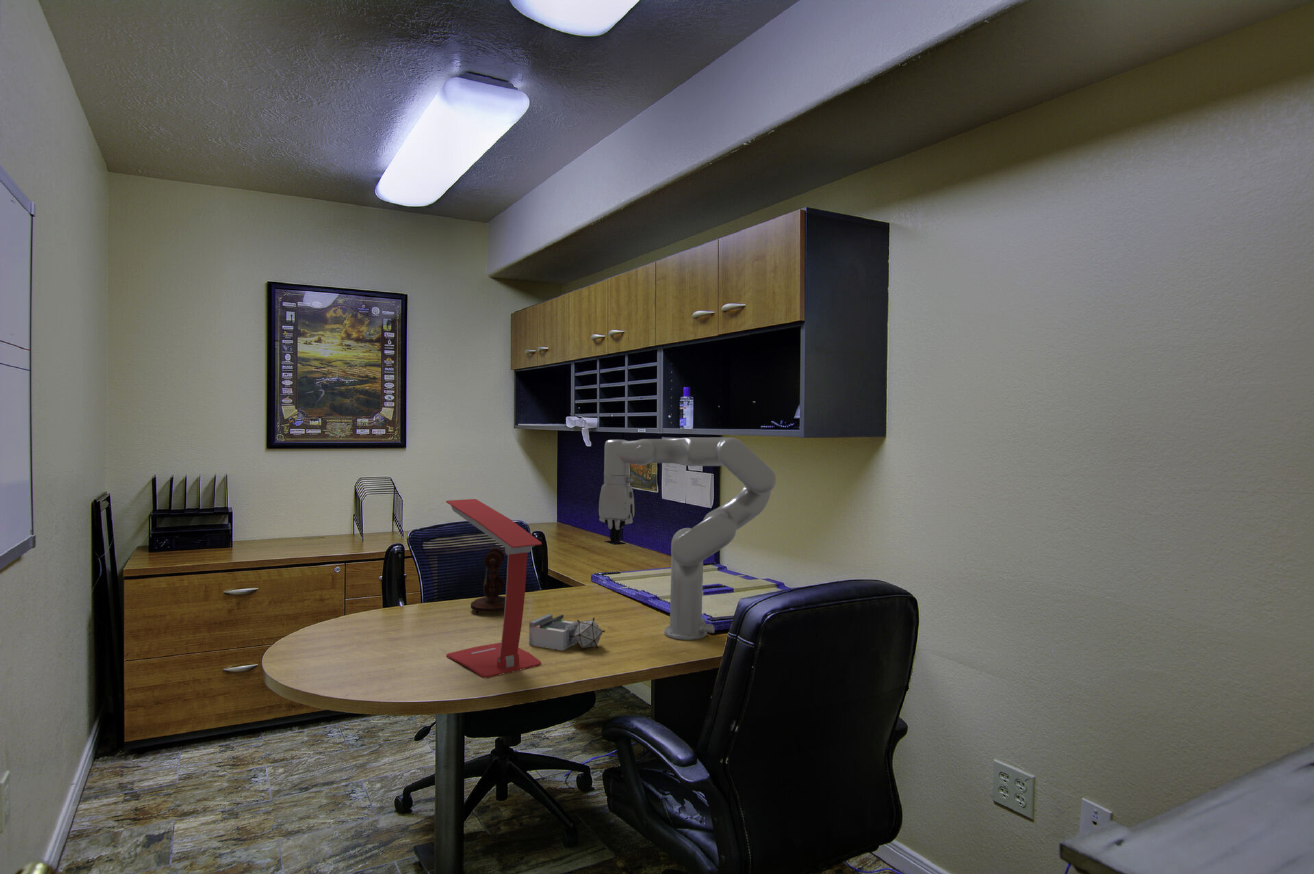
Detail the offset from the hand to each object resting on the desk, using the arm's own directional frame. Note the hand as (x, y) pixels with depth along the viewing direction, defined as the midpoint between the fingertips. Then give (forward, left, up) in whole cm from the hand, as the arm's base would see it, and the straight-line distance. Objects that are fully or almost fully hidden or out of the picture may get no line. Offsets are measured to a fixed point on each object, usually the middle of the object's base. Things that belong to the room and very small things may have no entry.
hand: (615, 542), depth 211 cm
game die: (0, +17, -27) cm, 32 cm away
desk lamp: (+19, +35, -27) cm, 48 cm away
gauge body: (+10, +17, -27) cm, 34 cm away
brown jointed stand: (+46, -3, -27) cm, 54 cm away
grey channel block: (+8, +17, -26) cm, 32 cm away
